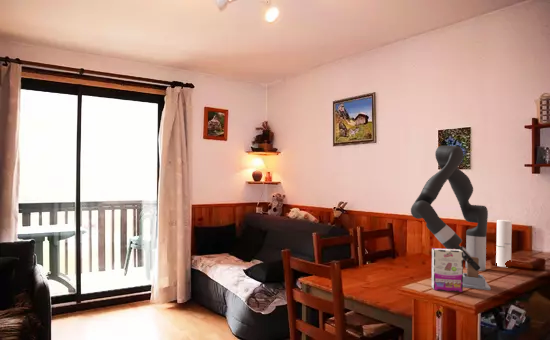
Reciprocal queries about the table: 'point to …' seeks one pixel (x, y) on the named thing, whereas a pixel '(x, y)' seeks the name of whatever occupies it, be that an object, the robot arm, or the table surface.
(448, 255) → the candy bar box
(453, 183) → the robot arm
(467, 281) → the socket stand
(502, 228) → the cylindrical container
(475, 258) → the walnut block
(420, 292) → the table surface
